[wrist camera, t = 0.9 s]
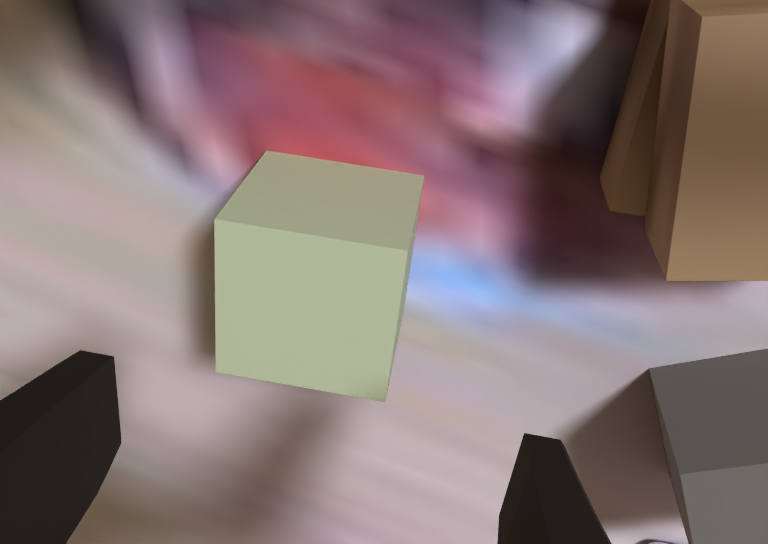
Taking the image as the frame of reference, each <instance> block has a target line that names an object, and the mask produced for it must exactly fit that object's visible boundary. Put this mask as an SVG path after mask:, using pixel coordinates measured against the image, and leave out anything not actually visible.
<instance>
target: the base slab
mask: <svg viewBox="0 0 768 544" xmlns="http://www.w3.org/2000/svg"><path fill="white" fill-rule="evenodd" d="M670 1H671V0H651V1H650V5H649V8H648V12H647V15H646V19H645V22H644V26H643V29H642V32H641V36H640V39H639V43H638V46H637V50H636V53H635V57H634V60H633V64H632V67H631V71H630V74H629V78H628V81H627V84H626V88H625V91H624V95H623V98H622V102H621V105H620V109H619V112H618V116H617V119H616V123H615V126H614V130H613V133H612V136H611V140H610V143H609V147H608V150H607V154H606V157H605V161H604V164H603V168H602V171H601V175H600V178H599V179H600V182H601V185H602V189H603V192H604V195H605V198H606V201H607V204H608V208H609V211H613V212H620V213H626V214H632V215H639V216H645V217H646V210H647V201H648V192H649V184H650V175H651V166H652V158H653V149H654V140H655V132H656V123H657V114H658V106H659V97H660V88H661V79H662V71H663V62H664V53H665V45H666V36H667V27H668V19H669V10H670Z"/></svg>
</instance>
